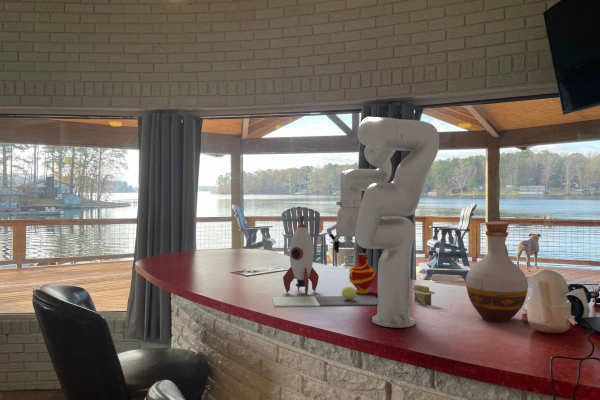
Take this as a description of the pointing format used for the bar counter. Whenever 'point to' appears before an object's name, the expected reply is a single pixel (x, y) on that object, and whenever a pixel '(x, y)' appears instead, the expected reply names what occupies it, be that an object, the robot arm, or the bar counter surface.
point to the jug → (496, 279)
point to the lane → (324, 301)
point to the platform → (422, 294)
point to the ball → (348, 292)
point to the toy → (301, 260)
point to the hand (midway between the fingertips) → (350, 252)
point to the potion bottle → (362, 274)
